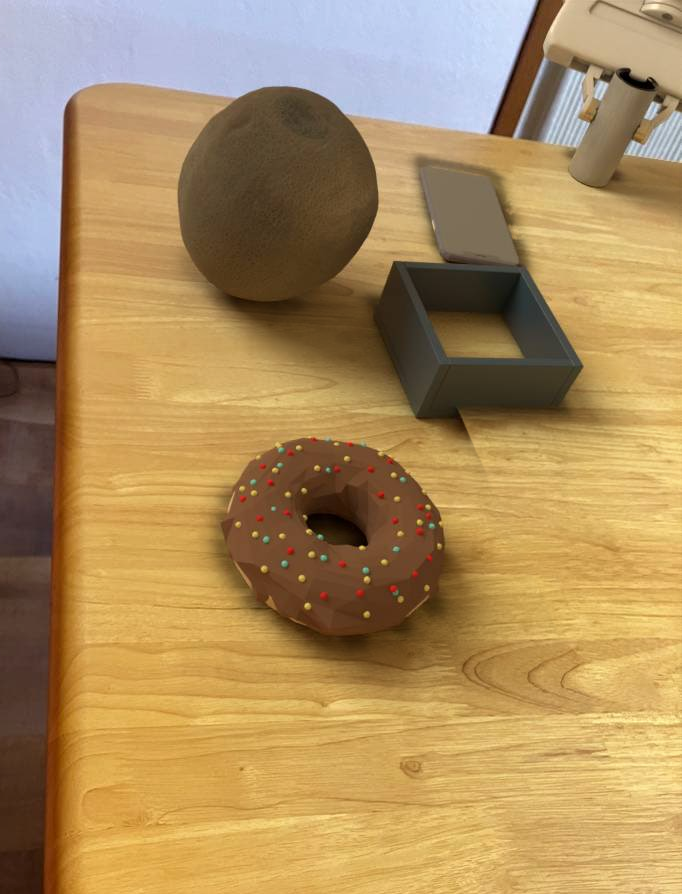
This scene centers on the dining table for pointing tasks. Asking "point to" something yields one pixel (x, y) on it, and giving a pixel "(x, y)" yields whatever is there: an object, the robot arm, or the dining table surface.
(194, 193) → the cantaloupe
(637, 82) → the beige hollow cylinder
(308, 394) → the dining table surface
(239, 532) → the donut
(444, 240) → the smartphone
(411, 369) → the bin
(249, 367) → the dining table surface
